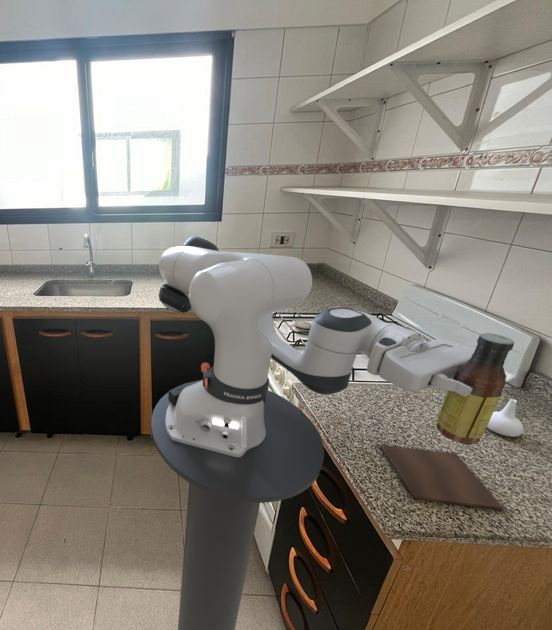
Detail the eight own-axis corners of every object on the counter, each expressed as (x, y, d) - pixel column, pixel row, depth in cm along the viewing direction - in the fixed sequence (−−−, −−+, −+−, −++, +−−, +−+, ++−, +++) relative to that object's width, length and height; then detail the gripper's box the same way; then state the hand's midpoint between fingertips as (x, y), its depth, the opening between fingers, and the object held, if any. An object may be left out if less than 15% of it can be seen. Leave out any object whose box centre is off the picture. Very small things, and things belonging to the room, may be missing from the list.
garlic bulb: (490, 436, 77) (505, 407, 73) (474, 418, 82) (487, 390, 79) (526, 442, 75) (543, 413, 72) (507, 423, 80) (522, 395, 77)
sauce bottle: (470, 428, 65) (518, 333, 57) (484, 451, 59) (539, 351, 51) (427, 418, 67) (467, 326, 59) (437, 439, 62) (483, 342, 54)
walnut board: (413, 498, 63) (414, 496, 62) (380, 447, 74) (381, 445, 74) (502, 510, 60) (504, 508, 60) (454, 455, 72) (455, 453, 72)
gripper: (426, 353, 75) (510, 388, 63) (360, 373, 68) (441, 417, 56) (436, 326, 72) (525, 358, 60) (369, 345, 65) (455, 385, 53)
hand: (484, 386), depth 58 cm, fingers closed on sauce bottle, 6 cm apart
